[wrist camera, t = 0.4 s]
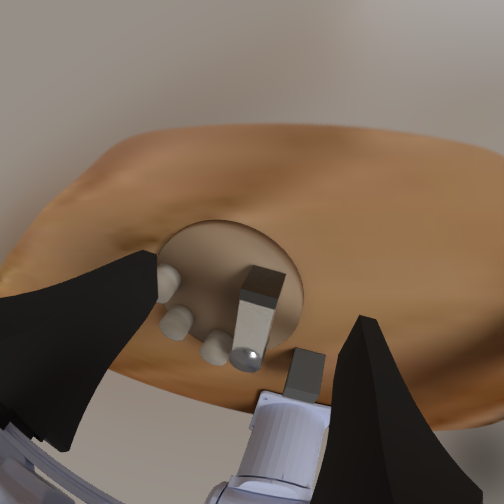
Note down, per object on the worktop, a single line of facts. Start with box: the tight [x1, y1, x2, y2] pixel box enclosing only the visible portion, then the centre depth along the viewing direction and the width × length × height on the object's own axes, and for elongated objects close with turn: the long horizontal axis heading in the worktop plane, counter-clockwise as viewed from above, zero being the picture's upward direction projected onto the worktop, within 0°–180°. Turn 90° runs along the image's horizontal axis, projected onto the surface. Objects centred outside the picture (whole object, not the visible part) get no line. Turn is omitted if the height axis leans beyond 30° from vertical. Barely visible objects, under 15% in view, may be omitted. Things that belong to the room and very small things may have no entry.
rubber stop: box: [282, 348, 325, 404], centre depth 22 cm, size 1×2×4 cm, turn 81°
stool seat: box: [156, 220, 304, 365], centre depth 21 cm, size 11×11×3 cm
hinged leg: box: [229, 265, 286, 372], centre depth 19 cm, size 7×2×3 cm, turn 171°
